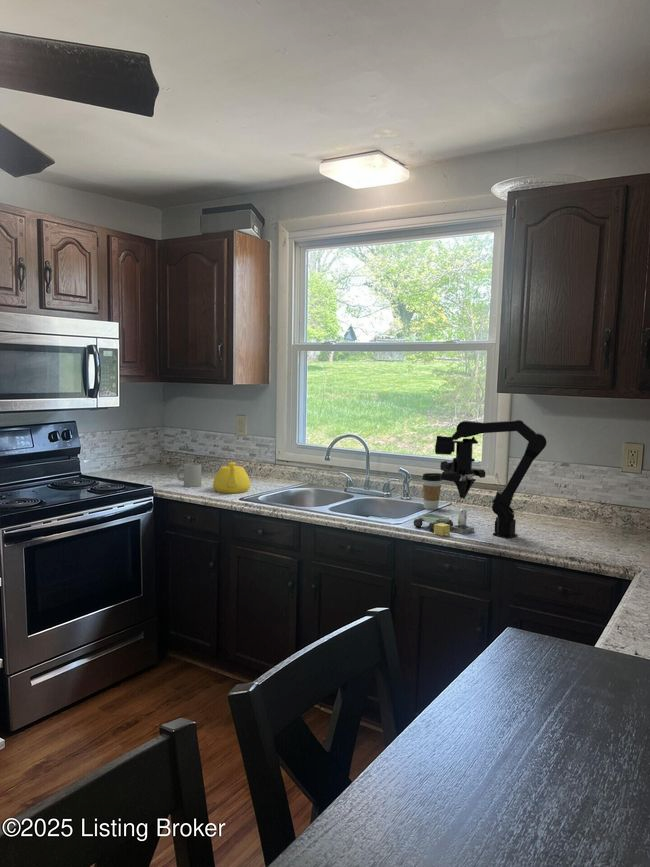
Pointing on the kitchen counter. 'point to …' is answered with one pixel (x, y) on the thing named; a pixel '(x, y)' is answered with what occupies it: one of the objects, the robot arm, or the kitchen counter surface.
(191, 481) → the mug
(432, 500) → the coffee cup
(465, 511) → the pin
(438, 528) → the block
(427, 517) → the trolley
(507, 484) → the robot arm
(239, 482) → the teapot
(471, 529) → the socket
